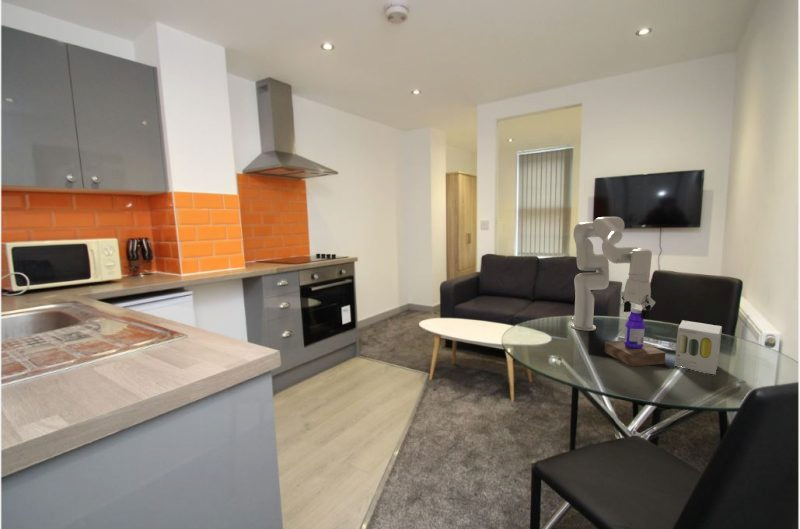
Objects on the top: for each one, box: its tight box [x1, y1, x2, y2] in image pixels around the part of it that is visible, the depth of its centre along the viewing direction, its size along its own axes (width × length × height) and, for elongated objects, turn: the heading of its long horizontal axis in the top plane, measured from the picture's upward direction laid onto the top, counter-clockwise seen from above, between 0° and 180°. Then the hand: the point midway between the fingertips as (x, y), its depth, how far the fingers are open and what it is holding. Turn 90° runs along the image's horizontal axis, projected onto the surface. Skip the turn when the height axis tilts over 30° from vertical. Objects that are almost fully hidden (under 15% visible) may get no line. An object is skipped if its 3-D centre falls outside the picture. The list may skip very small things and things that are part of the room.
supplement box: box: [674, 319, 723, 375], centre depth 147 cm, size 13×13×18 cm
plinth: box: [604, 340, 666, 368], centre depth 158 cm, size 16×16×5 cm
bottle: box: [623, 307, 646, 348], centre depth 156 cm, size 7×6×17 cm
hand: (635, 315), depth 156 cm, fingers open, 9 cm apart
